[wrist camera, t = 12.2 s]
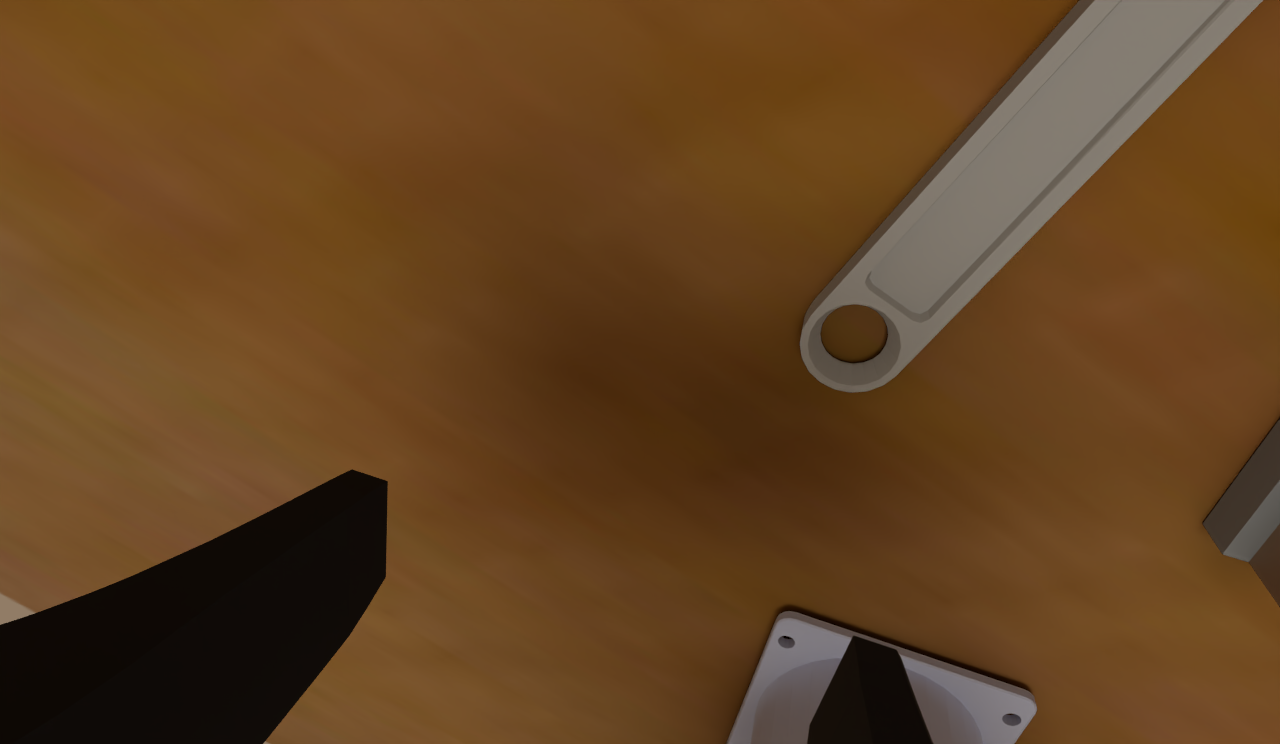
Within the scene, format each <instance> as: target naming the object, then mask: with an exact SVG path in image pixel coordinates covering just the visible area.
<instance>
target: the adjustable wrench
mask: <svg viewBox="0 0 1280 744" xmlns="http://www.w3.org/2000/svg"><path fill="white" fill-rule="evenodd" d="M1262 1H1263V0H1079V2H1078V3H1077V4H1076V5H1075V6H1074V7H1073V8H1072V9H1071V11H1070V12H1069V13H1068V14H1067V15H1066V16H1065V17H1064V18H1063V20H1062V21H1061V22H1060V23H1059V24H1058V25H1057V26H1056V27H1055V29H1054V30H1053V31H1052V32H1051V33H1050V34H1049V35H1048V37H1047V38H1046V39H1045V40H1044V41H1043V42H1042V43H1041V44H1040V46H1039V47H1038V48H1037V49H1036V50H1035V51H1034V52H1033V53H1032V55H1031V56H1030V57H1029V58H1028V59H1027V60H1026V61H1025V62H1024V64H1023V65H1022V66H1021V67H1020V68H1019V69H1018V70H1017V71H1016V73H1015V74H1014V75H1013V76H1012V77H1011V78H1010V79H1009V81H1008V82H1007V83H1006V84H1005V85H1004V86H1003V87H1002V88H1001V90H1000V91H999V92H998V93H997V94H996V95H995V96H994V97H993V99H992V100H991V101H990V102H989V103H988V104H987V105H986V106H985V108H984V109H983V110H982V111H981V112H980V113H979V114H978V116H977V117H976V118H975V119H974V120H973V121H972V122H971V123H970V125H969V126H968V127H967V128H966V129H965V130H964V131H963V132H962V134H961V135H960V136H959V137H958V138H957V139H956V140H955V141H954V143H953V144H952V145H951V146H950V147H949V148H948V149H947V150H946V152H945V153H944V154H943V155H942V156H941V157H940V158H939V160H938V161H937V162H936V163H935V164H934V165H933V166H932V167H931V169H930V170H929V171H928V172H927V173H926V174H925V175H924V176H923V178H922V179H921V180H920V181H919V182H918V183H917V184H916V185H915V187H914V188H913V189H912V190H911V191H910V192H909V193H908V194H907V196H906V197H905V198H904V199H903V200H902V201H901V202H900V204H899V205H898V206H897V207H896V208H895V209H894V210H893V211H892V213H891V214H890V215H889V216H888V217H887V218H886V219H885V220H884V222H883V223H882V224H881V225H880V226H879V227H878V228H877V229H876V231H875V232H874V233H873V234H872V235H871V236H870V237H869V239H868V240H867V241H866V242H865V243H864V244H863V245H862V246H861V248H860V249H859V250H858V251H857V252H856V253H855V254H854V255H853V257H852V258H851V259H850V260H849V261H848V262H847V263H846V264H845V266H844V267H843V268H842V269H841V270H840V271H839V272H838V273H837V275H836V276H835V277H834V278H833V279H832V280H831V281H830V283H829V284H828V285H827V286H826V287H825V288H824V289H823V290H822V292H821V293H820V294H819V295H818V296H817V297H816V298H815V299H814V301H813V302H812V304H811V305H810V307H809V309H808V310H807V312H806V314H805V318H804V323H803V328H802V333H801V339H800V349H801V356H802V360H803V361H804V363H805V365H806V367H807V369H808V371H809V372H810V373H811V374H812V375H813V376H814V377H815V378H816V379H817V380H818V381H819V382H821V383H823V384H825V385H827V386H829V387H831V388H833V389H835V390H840V391H845V392H850V393H852V392H865V391H870V390H872V389H875V388H878V387H881V386H883V385H885V384H886V383H887V382H889V381H890V380H891V379H893V378H894V377H895V376H897V375H898V374H899V373H900V371H901V370H902V369H903V368H904V367H905V366H906V365H907V364H908V363H909V362H910V361H911V360H912V359H913V358H914V357H915V356H916V355H917V354H918V353H919V352H920V351H921V350H922V349H923V348H924V347H925V346H926V345H927V344H928V343H929V342H930V341H931V340H932V339H933V338H934V337H935V336H936V335H937V334H938V333H939V332H940V331H941V329H942V328H943V327H944V326H945V325H946V324H947V323H948V322H949V321H950V320H951V319H952V318H953V317H954V316H955V315H956V314H957V313H958V312H959V311H960V310H961V309H962V308H963V307H964V306H965V305H966V304H967V303H968V302H969V301H970V300H971V299H972V298H973V297H974V296H975V295H976V294H977V293H978V292H979V291H980V290H981V289H982V287H983V286H984V285H985V284H986V283H987V282H988V281H989V280H990V279H991V278H992V277H993V276H994V275H995V274H996V273H997V272H998V271H999V270H1000V269H1001V268H1002V267H1003V266H1004V265H1005V264H1006V263H1007V262H1008V261H1009V260H1010V259H1011V258H1012V257H1013V256H1014V255H1015V254H1016V253H1017V252H1018V251H1019V250H1020V249H1021V248H1022V247H1023V245H1024V244H1025V243H1026V242H1027V241H1028V240H1029V239H1030V238H1031V237H1032V236H1033V235H1034V234H1035V233H1036V232H1037V231H1038V230H1039V229H1040V228H1041V227H1042V226H1043V225H1044V224H1045V223H1046V222H1047V221H1048V220H1049V219H1050V218H1051V217H1052V216H1053V215H1054V214H1055V213H1056V212H1057V211H1058V210H1059V209H1060V208H1061V207H1062V206H1063V205H1064V203H1065V202H1066V201H1067V200H1068V199H1069V198H1070V197H1071V196H1072V195H1073V194H1074V193H1075V192H1076V191H1077V190H1078V189H1079V188H1080V187H1081V186H1082V185H1083V184H1084V183H1085V182H1086V181H1087V180H1088V179H1089V178H1090V177H1091V176H1092V175H1093V174H1094V173H1095V172H1096V171H1097V170H1098V169H1099V168H1100V167H1101V166H1102V165H1103V164H1104V163H1105V162H1106V160H1107V159H1108V158H1109V157H1110V156H1111V155H1112V154H1113V153H1114V152H1115V151H1116V150H1117V149H1118V148H1119V147H1120V146H1121V145H1122V144H1123V143H1124V142H1125V141H1126V140H1127V139H1128V138H1129V137H1130V136H1131V135H1132V134H1133V133H1134V132H1135V131H1136V130H1137V129H1138V128H1139V127H1140V126H1141V125H1142V124H1143V123H1144V122H1145V121H1146V120H1147V118H1148V117H1149V116H1150V115H1151V114H1152V113H1153V112H1154V111H1155V110H1156V109H1157V108H1158V107H1159V106H1160V105H1161V104H1162V103H1163V102H1164V101H1165V100H1166V99H1167V98H1168V97H1169V96H1170V95H1171V94H1172V93H1173V92H1174V91H1175V90H1176V89H1177V88H1178V87H1179V86H1180V85H1181V84H1182V83H1183V82H1184V81H1185V80H1186V79H1187V78H1188V76H1189V75H1190V74H1191V73H1192V72H1193V71H1194V70H1195V69H1196V68H1197V67H1198V66H1199V65H1200V64H1201V63H1202V62H1203V61H1204V60H1205V59H1206V58H1207V57H1208V56H1209V55H1210V54H1211V53H1212V52H1213V51H1214V50H1215V49H1216V48H1217V47H1218V46H1219V45H1220V44H1221V43H1222V42H1223V41H1224V40H1225V39H1226V38H1227V37H1228V36H1229V34H1230V33H1231V32H1232V31H1233V30H1234V29H1235V28H1236V27H1237V26H1238V25H1239V24H1240V23H1241V22H1242V21H1243V20H1244V19H1245V18H1246V17H1247V16H1248V15H1249V14H1250V13H1251V12H1252V11H1253V10H1254V9H1255V8H1256V7H1257V6H1258V5H1259V4H1260V3H1261V2H1262ZM853 304H858V305H864V306H867V307H869V308H871V309H873V310H875V311H877V312H878V313H879V314H880V315H881V316H882V317H883V319H884V321H885V323H886V325H887V329H888V338H887V342H886V345H885V347H884V348H883V350H882V351H881V353H880V354H879V355H877V356H876V357H875V358H873V359H871V360H868V361H865V362H860V363H848V362H843V361H839V360H837V359H835V358H833V357H832V356H831V355H830V354H829V353H828V352H827V351H826V350H825V348H824V346H823V344H822V342H821V335H820V333H821V328H822V324H823V322H824V321H825V319H826V318H827V316H828V315H829V314H830V313H832V312H833V311H834V310H835V309H838V308H840V307H842V306H845V305H853Z"/></svg>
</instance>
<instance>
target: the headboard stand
mask: <svg viewBox="0 0 1280 744" xmlns="http://www.w3.org/2000/svg"><path fill="white" fill-rule="evenodd" d="M1203 525H1204V527H1205V528H1206V530H1207V531H1208V533H1209V534H1210V536H1211V538H1212V539H1213V541H1214V542H1215V544H1216V545H1217V547H1218V548H1219V550H1220V551H1221V553H1222V554H1223V555H1227V556H1230V557H1233V558H1237V559H1240V560H1243V561H1246V562H1249V563H1250V565H1251V566H1252V568H1253V569H1254V571H1255V572H1256V573H1257V575H1258V576H1259V578H1260V579H1261V581H1262V582H1263V584H1264V585H1265V586H1266V588H1267V589H1268V591H1269V592H1270V594H1271V595H1272V597H1273V598H1274V600H1275V601H1276V602H1277V604H1278V605H1279V607H1280V419H1279V420H1278V422H1277V423H1276V425H1275V426H1274V427H1273V429H1272V430H1271V431H1270V433H1269V434H1268V435H1267V437H1266V438H1265V440H1264V441H1263V442H1262V444H1261V445H1260V446H1259V448H1258V449H1257V450H1256V452H1255V453H1254V454H1253V456H1252V457H1251V459H1250V460H1249V461H1248V463H1247V464H1246V465H1245V467H1244V468H1243V469H1242V471H1241V472H1240V474H1239V475H1238V476H1237V478H1236V479H1235V480H1234V482H1233V483H1232V484H1231V486H1230V487H1229V488H1228V490H1227V491H1226V493H1225V494H1224V495H1223V497H1222V498H1221V499H1220V501H1219V502H1218V503H1217V505H1216V506H1215V507H1214V509H1213V510H1212V512H1211V513H1210V514H1209V516H1208V517H1207V518H1206V520H1205V521H1204V522H1203Z"/></svg>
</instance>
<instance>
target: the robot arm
mask: <svg viewBox="0 0 1280 744" xmlns="http://www.w3.org/2000/svg"><path fill="white" fill-rule="evenodd" d="M387 485H388V481H385V480H382V479H379V478H376V477H373V476H370V475H367V474H364V473H361V472H358V471H355V470H350V471H348V472H346V473H344V474H341V475H339V476H337V477H335V478H333V479H331V480H329V481H328V482H326V483H324V484H322V485H320V486H318V487H316V488H314V489H312V490H310V491H308V492H306V493H304V494H302V495H300V496H298V497H296V498H294V499H292V500H291V501H289V502H287V503H285V504H283V505H281V506H279V507H277V508H275V509H273V510H271V511H269V512H267V513H265V514H263V515H261V516H259V517H257V518H255V519H253V520H251V521H249V522H247V523H245V524H243V525H241V526H239V527H237V528H235V529H233V530H231V531H229V532H227V533H225V534H223V535H221V536H219V537H217V538H215V539H213V540H211V541H209V542H207V543H204V544H202V545H200V546H198V547H195V548H193V549H191V550H189V551H187V552H184V553H182V554H180V555H178V556H175V557H173V558H171V559H169V560H167V561H164V562H162V563H160V564H158V565H155V566H153V567H151V568H149V569H147V570H144V571H142V572H140V573H138V574H135V575H133V576H131V577H128V578H126V579H124V580H121V581H119V582H116V583H114V584H111V585H109V586H106V587H104V588H101V589H99V590H96V591H94V592H91V593H89V594H86V595H84V596H81V597H78V598H75V599H73V600H70V601H67V602H65V603H62V604H59V605H57V606H54V607H51V608H49V609H46V610H43V611H41V612H38V613H35V614H32V615H29V616H27V617H24V618H21V619H17V620H14V621H11V622H8V623H5V624H2V625H0V744H263V743H264V742H265V741H266V739H267V738H268V737H269V736H270V734H271V733H272V732H273V731H274V729H275V728H276V727H277V726H278V724H279V723H280V722H281V721H282V719H283V718H284V717H285V716H286V715H287V713H288V712H289V711H290V710H291V708H292V707H293V706H294V705H295V703H296V702H297V701H298V700H299V698H300V697H301V696H302V695H303V693H304V692H305V691H306V690H307V688H308V687H309V686H310V685H311V683H312V682H313V681H314V680H315V678H316V677H317V676H318V675H319V673H320V672H321V671H322V670H323V668H324V667H325V666H326V665H327V663H328V662H329V661H330V660H331V658H332V657H333V656H334V654H335V653H336V652H337V651H338V649H339V648H340V647H341V646H342V644H343V643H344V642H345V640H346V639H347V638H348V637H349V635H350V634H351V632H352V631H353V629H354V627H355V626H356V624H357V623H358V621H359V620H360V618H361V617H362V615H363V613H364V612H365V610H366V609H367V607H368V605H369V604H370V602H371V600H372V599H373V597H374V595H375V594H376V592H377V590H378V589H379V587H380V585H381V584H382V582H383V581H384V579H385V577H386V535H387ZM782 636H789V637H791V638H792V639H785V638H783V637H782ZM1036 711H1037V706H1036V702H1035V699H1034V696H1033V695H1032V694H1031V693H1030V692H1029V691H1027V690H1025V689H1022V688H1019V687H1016V686H1013V685H1011V684H1008V683H1005V682H1002V681H999V680H996V679H993V678H990V677H987V676H984V675H981V674H978V673H975V672H972V671H969V670H966V669H963V668H960V667H957V666H954V665H951V664H948V663H945V662H942V661H939V660H936V659H934V658H931V657H928V656H925V655H922V654H919V653H916V652H913V651H910V650H907V649H904V648H901V647H898V646H895V645H892V644H889V643H886V642H883V641H880V640H877V639H874V638H871V637H868V636H865V635H862V634H859V633H857V632H854V631H851V630H848V629H845V628H842V627H839V626H836V625H833V624H830V623H827V622H824V621H821V620H818V619H815V618H812V617H809V616H806V615H803V614H800V613H797V612H793V611H786V612H783V613H781V614H779V615H778V617H777V618H776V620H775V623H774V625H773V628H772V630H771V633H770V635H769V638H768V640H767V643H766V645H765V648H764V650H763V653H762V655H761V658H760V660H759V663H758V665H757V668H756V670H755V673H754V675H753V678H752V680H751V683H750V685H749V688H748V690H747V693H746V695H745V698H744V700H743V703H742V705H741V708H740V710H739V713H738V715H737V718H736V720H735V723H734V725H733V728H732V730H731V733H730V735H729V738H728V740H727V743H726V744H1015V742H1016V741H1017V739H1018V738H1019V736H1020V735H1021V734H1022V732H1023V731H1024V729H1025V728H1026V727H1027V725H1028V724H1029V722H1030V721H1031V719H1032V718H1033V717H1034V715H1035V714H1036ZM1009 713H1012V714H1014V715H1007V714H1009Z"/></svg>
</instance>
